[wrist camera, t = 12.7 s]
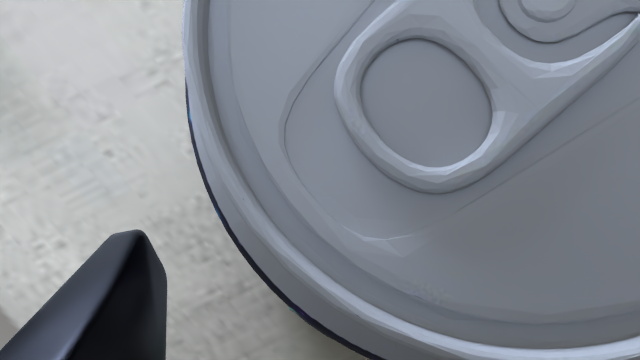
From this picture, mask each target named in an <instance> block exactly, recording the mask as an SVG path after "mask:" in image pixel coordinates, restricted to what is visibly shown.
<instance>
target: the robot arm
mask: <svg viewBox="0 0 640 360" xmlns="http://www.w3.org/2000/svg"><path fill="white" fill-rule="evenodd" d="M166 315H167V277H166V273H165V270H164V267H163V265H162V263H161V261H160V260H159V258H158V256H157V254H156V252H155V250H154V248H153V246H152V244H151V243H150V241H149V239H148V237H147V236H146V234H145V233H144V232H143V231H141V230H138V229H136V230H131V231H125V232H120V233H116V234H113V235H111V236H110V237H109V238H108V239H107V240H106V241H105V242H104V243H103V244H102V245H101V246H100V247H99V248H98V249H97V250H96V251H95V252H94V253H93V254H92V255H91V257H90V258H89V259H88V260H87V261H86V262H85V263H84V264H83V265H82V266H81V267H80V268H79V269H78V270H77V271H76V272H75V273H74V274H73V275H72V276H71V277H70V278H69V279H68V280H67V281H66V283H65V284H64V285H63V286H62V287H61V288H60V289H59V290H58V291H57V292H56V293H55V294H54V295H53V296H52V297H51V298H50V299H49V300H48V301H47V302H46V303H45V304H44V305H43V306H42V307H41V309H40V310H39V311H38V312H37V313H36V314H35V315H34V316H33V317H32V318H31V319H30V320H29V321H28V322H27V323H26V324H25V325H24V326H23V327H22V328H21V329H20V330H19V331H18V332H17V333H16V335H15V336H14V337H13V338H12V339H11V340H10V341H9V342H8V343H7V344H6V345H5V346H4V347H3V348H2V349H1V350H0V360H166Z"/></svg>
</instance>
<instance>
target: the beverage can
mask: <svg viewBox="0 0 640 360" xmlns="http://www.w3.org/2000/svg"><path fill="white" fill-rule="evenodd" d="M182 43H183V55H184V66H185V86H186V105H187V115H188V123H189V129H190V134H191V140H192V145H193V148H194V152H195V156H196V160H197V164H198V167H199V170H200V173H201V176H202V179H203V182H204V184H205V187H206V190H207V192H208V194H209V197H210V199H211V201H212V203H213V206H214V208H215V210H216V212H217V214H218V216H219V218H220V219H221V221H222V223H223V225H224V227H225V229H226V231H227V232H228V234H229V235H230V237H231V238H232V240H233V242H234V243H235V245H236V246H237V248H238V249H239V251H240V252H241V254H242V255H243V256H244V258H245V259H246V260H247V261H248V263H249V264H250V265H251V267H252V268H253V269H254V271H255V272H256V273H257V274H258V275H259V276H260V277H261V279H262V280H263V281H264V282H265V283H266V284H267V285H268V286H269V287H270V289H271V290H272V291H273V292H274V293H276V294H277V295H278V296H279V297H280V298H281V299H282V300H283V301H284V302H285V303H286V304H287V305H288V306H289V307H290V308H292V309H293V310H294V311H295V312H296V313H298V314H299V315H300V316H301V317H303V318H304V319H305V320H306V321H307V322H309V323H310V324H312V325H313V326H314V327H316V328H317V329H319V330H320V331H322V332H323V333H325V334H326V335H327V336H329V337H330V338H332V339H334V340H336V341H337V342H339V343H341V344H342V345H344V346H346V347H348V348H349V349H351V350H353V351H355V352H357V353H359V354H361V355H363V356H365V357H367V358H369V359H371V360H640V0H184V6H183V22H182Z"/></svg>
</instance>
